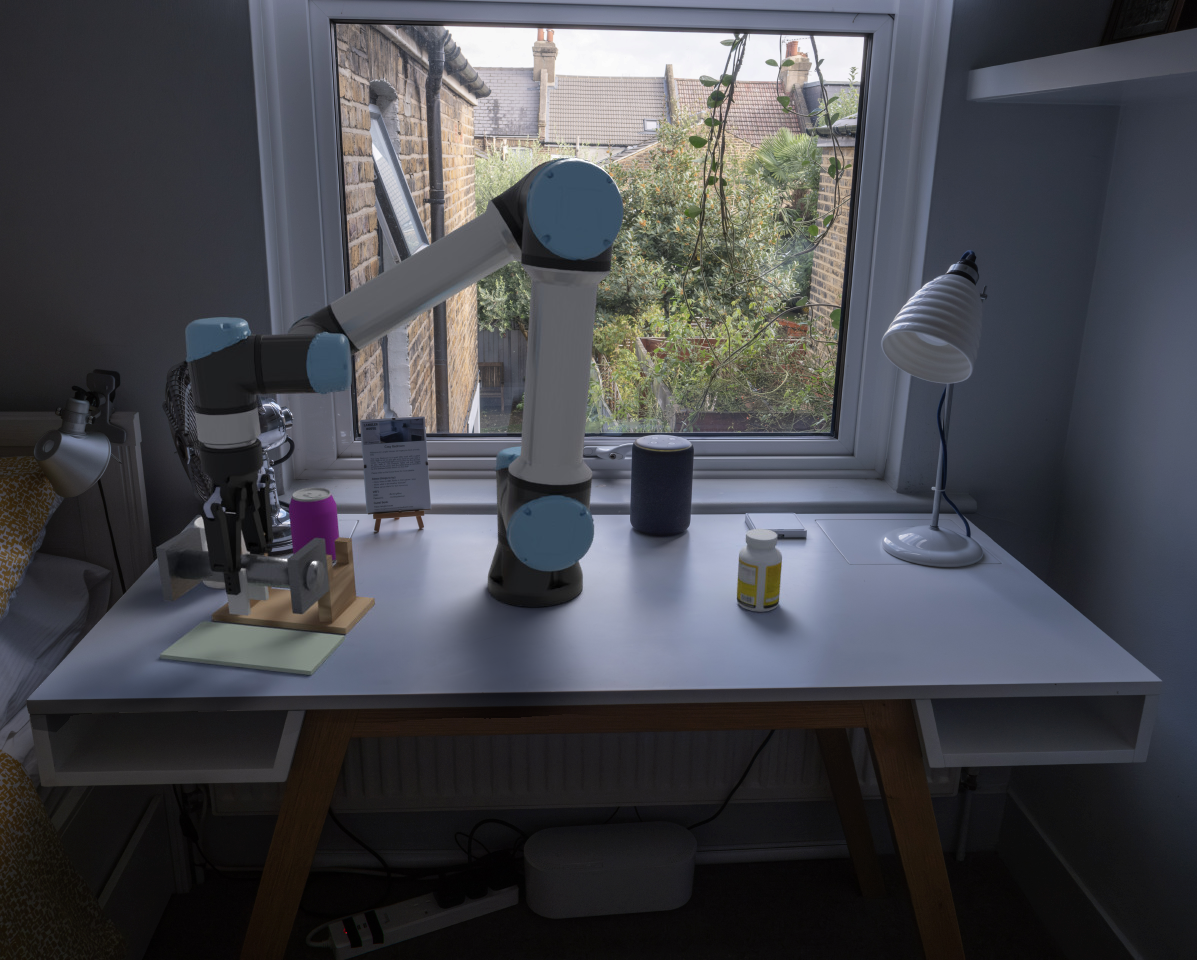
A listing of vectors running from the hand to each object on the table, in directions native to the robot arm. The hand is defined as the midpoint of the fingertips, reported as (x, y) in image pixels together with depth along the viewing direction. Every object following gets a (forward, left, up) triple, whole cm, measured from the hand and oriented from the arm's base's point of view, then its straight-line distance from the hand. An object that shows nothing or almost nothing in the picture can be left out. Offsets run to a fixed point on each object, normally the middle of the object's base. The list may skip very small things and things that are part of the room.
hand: (249, 605), depth 126 cm
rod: (0, 0, +2) cm, 2 cm away
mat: (0, 0, -7) cm, 7 cm away
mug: (+16, -19, -7) cm, 25 cm away
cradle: (0, -12, -7) cm, 13 cm away
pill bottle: (-68, -29, -7) cm, 74 cm away
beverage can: (+6, -31, -7) cm, 32 cm away
